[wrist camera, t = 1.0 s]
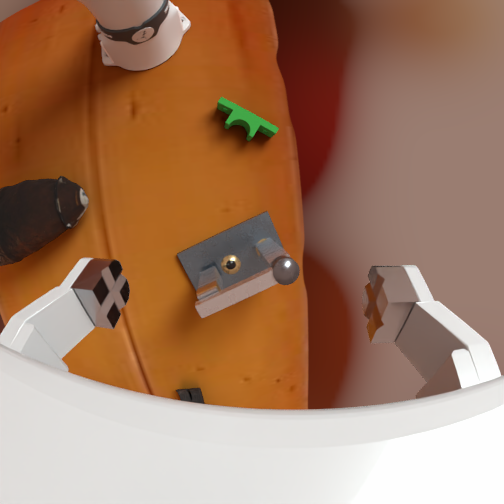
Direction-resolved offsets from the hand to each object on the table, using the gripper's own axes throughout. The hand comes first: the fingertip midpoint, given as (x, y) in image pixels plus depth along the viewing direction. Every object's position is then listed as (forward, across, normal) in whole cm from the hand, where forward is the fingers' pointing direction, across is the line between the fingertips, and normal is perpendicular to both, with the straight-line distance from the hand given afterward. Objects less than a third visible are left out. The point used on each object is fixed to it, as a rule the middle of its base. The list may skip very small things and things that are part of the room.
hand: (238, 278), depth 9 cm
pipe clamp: (+45, +6, +4) cm, 45 cm away
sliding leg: (+31, +11, +27) cm, 43 cm away
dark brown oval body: (+31, +45, +13) cm, 56 cm away
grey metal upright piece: (+33, +6, +26) cm, 43 cm away
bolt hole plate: (+34, +7, +27) cm, 44 cm away
